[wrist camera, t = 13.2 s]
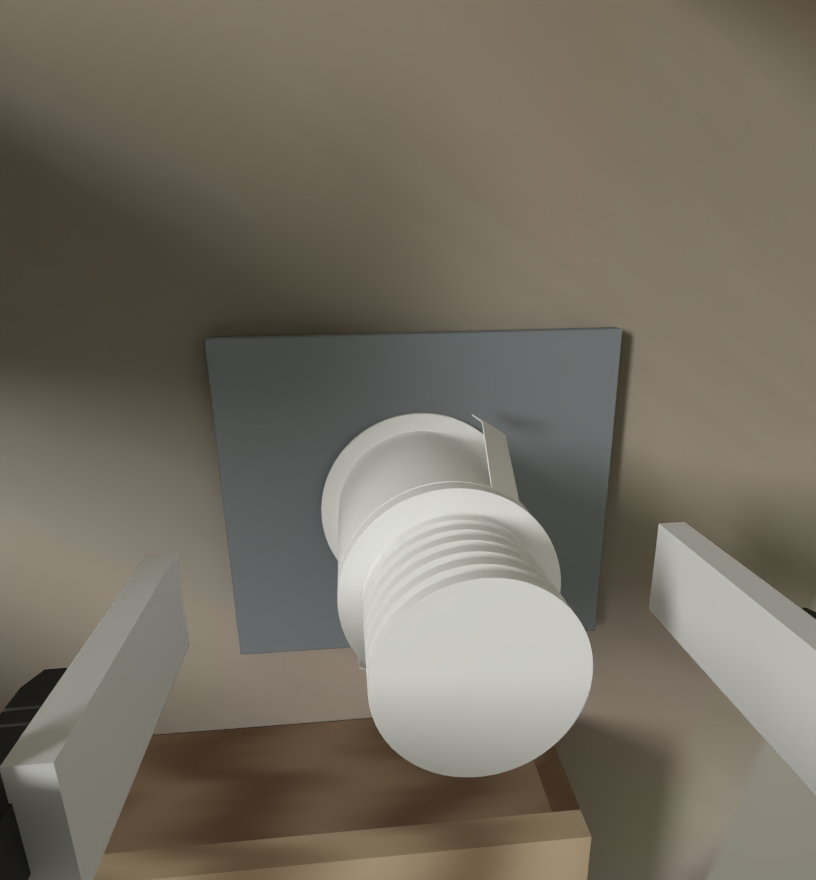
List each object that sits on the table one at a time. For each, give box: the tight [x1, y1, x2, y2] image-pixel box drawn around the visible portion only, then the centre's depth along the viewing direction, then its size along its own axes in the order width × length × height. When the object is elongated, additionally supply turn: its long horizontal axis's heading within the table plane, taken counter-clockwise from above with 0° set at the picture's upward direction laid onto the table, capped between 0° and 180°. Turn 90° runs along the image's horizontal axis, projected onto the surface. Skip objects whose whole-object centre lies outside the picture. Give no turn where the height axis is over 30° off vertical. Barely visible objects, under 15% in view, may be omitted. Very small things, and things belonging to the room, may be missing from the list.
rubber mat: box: [204, 327, 622, 655], centre depth 21 cm, size 14×12×1 cm
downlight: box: [321, 413, 593, 777], centre depth 16 cm, size 8×7×10 cm
